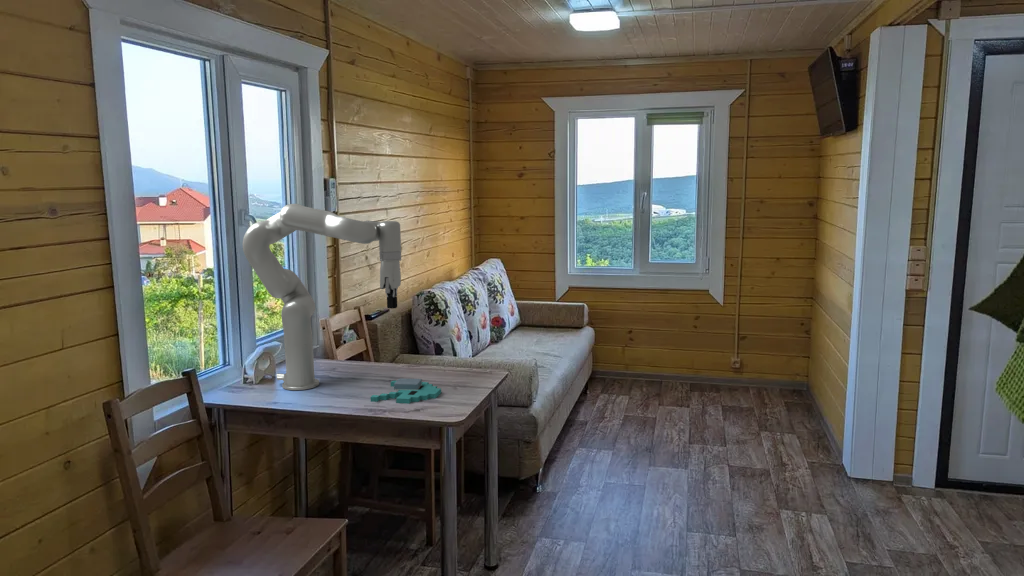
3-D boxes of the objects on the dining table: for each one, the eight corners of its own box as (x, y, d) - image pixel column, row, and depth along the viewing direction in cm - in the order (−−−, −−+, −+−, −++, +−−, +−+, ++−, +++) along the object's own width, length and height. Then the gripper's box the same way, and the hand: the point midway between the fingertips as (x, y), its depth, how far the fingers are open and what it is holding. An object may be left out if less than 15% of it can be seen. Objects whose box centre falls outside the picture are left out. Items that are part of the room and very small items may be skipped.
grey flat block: (417, 384, 234) (393, 384, 235) (417, 390, 235) (394, 389, 235) (421, 378, 241) (398, 378, 242) (421, 384, 241) (399, 384, 242)
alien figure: (370, 403, 228) (428, 406, 224) (370, 396, 227) (428, 400, 223) (393, 386, 247) (447, 389, 243) (392, 380, 247) (446, 383, 243)
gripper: (386, 254, 252) (388, 304, 254) (373, 258, 237) (375, 311, 240) (406, 254, 251) (408, 304, 253) (394, 258, 236) (396, 311, 239)
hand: (392, 307), depth 246 cm, fingers closed
